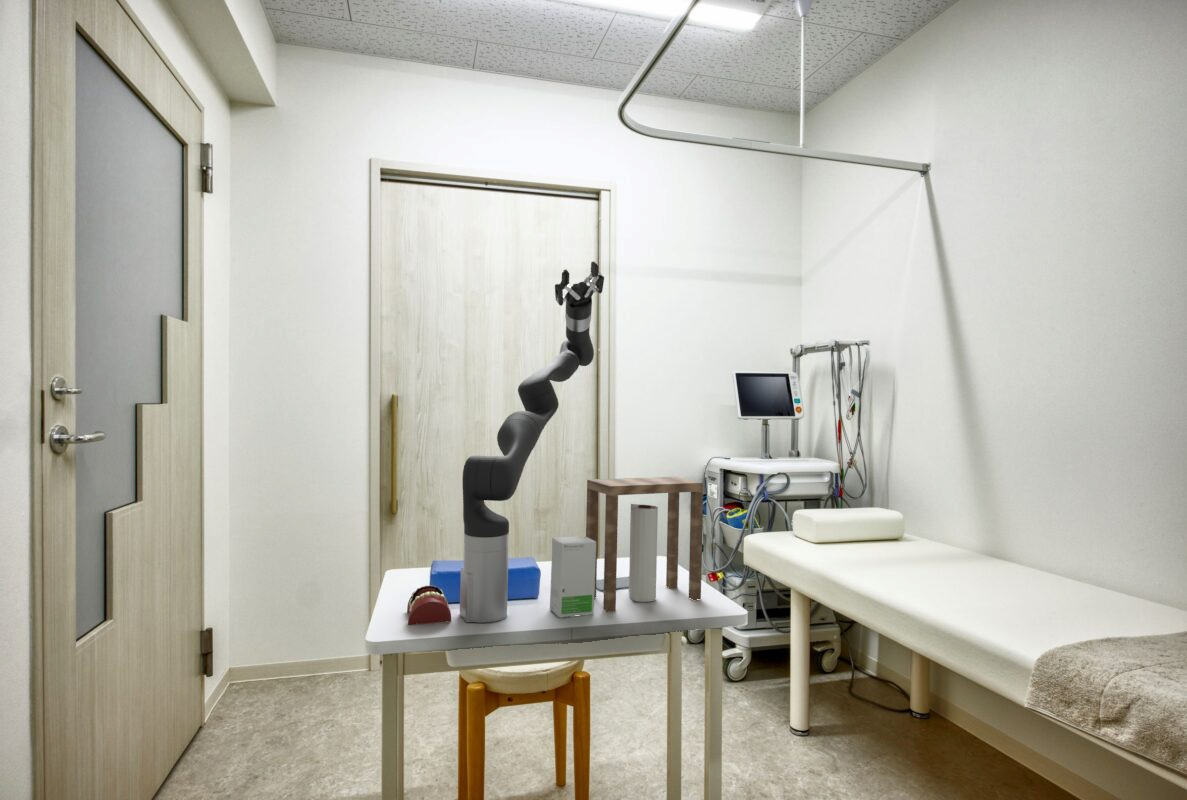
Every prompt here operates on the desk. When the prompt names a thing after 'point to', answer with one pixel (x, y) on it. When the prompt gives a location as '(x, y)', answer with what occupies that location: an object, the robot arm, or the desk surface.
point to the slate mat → (620, 583)
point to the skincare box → (572, 576)
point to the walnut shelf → (696, 515)
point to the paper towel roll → (643, 552)
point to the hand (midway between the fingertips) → (580, 267)
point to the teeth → (428, 606)
